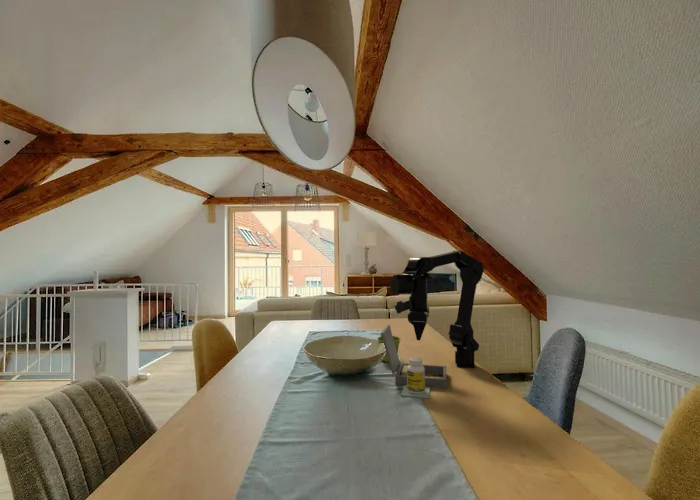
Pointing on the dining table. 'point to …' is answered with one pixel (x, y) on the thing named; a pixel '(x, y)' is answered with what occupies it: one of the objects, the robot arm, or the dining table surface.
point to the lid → (390, 348)
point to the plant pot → (396, 341)
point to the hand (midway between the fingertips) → (419, 337)
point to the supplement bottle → (415, 376)
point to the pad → (422, 395)
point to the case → (429, 382)
